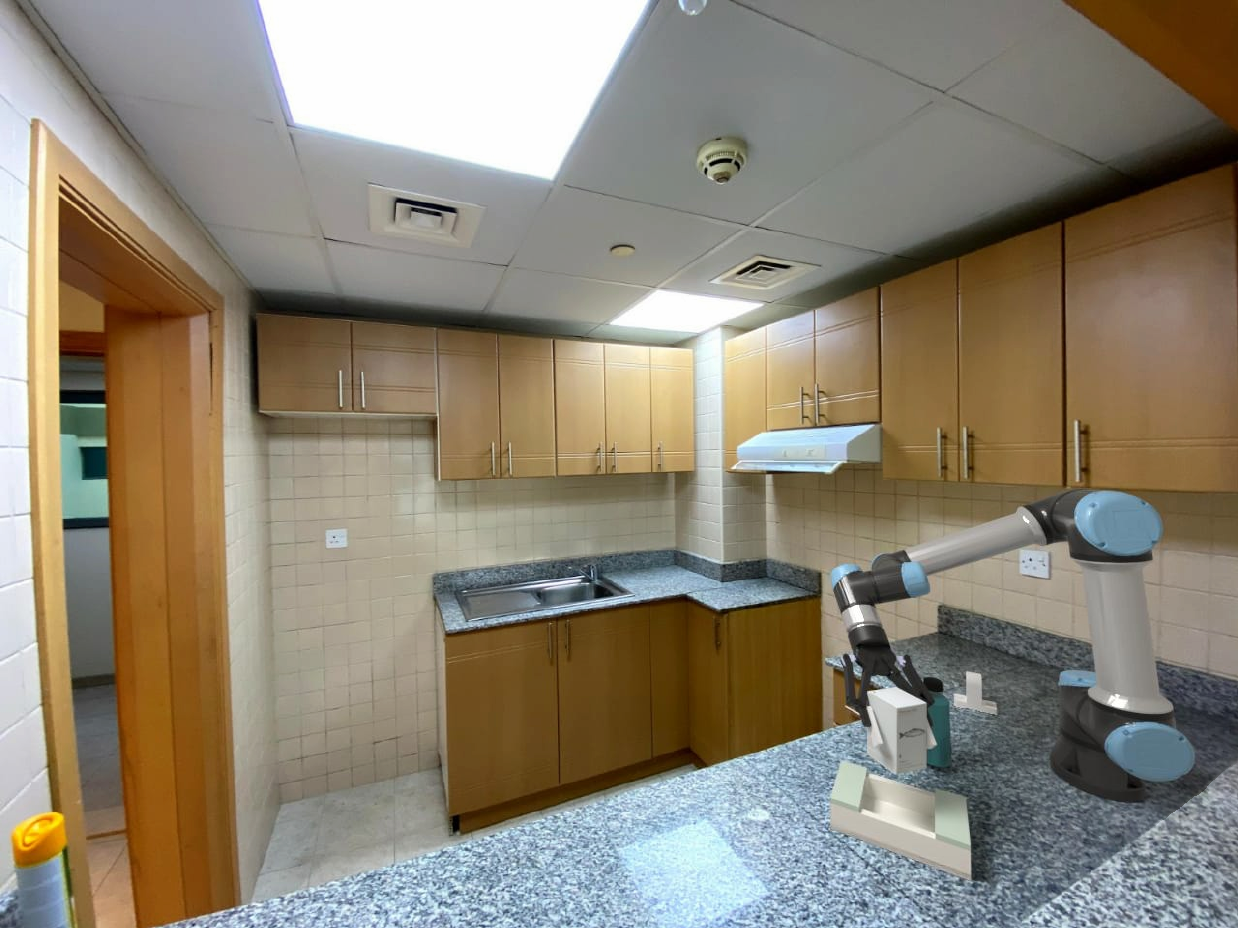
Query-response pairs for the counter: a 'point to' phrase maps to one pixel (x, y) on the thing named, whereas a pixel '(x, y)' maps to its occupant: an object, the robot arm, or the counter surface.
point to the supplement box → (899, 730)
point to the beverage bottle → (939, 724)
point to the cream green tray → (902, 819)
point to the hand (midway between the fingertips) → (905, 746)
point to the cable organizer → (974, 696)
